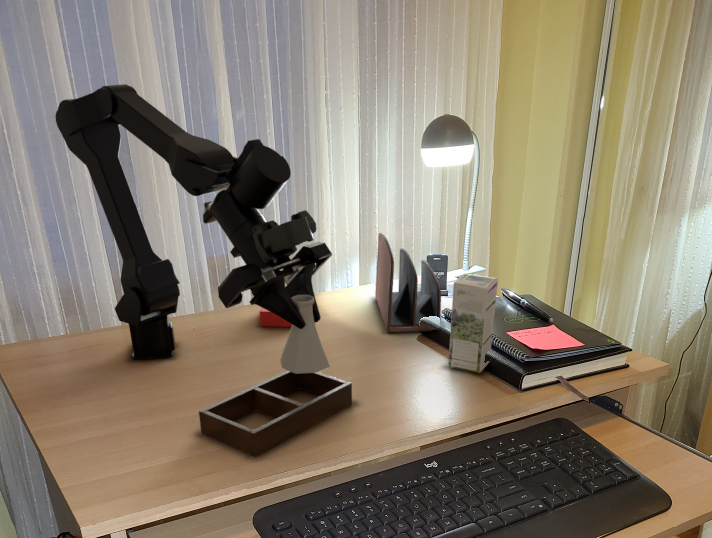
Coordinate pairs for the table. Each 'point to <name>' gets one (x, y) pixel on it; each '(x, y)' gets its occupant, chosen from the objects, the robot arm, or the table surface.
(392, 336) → the table surface
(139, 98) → the robot arm
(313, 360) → the flask
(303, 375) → the walnut divided tray
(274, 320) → the red slab
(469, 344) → the syrup box
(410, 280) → the letter holder
